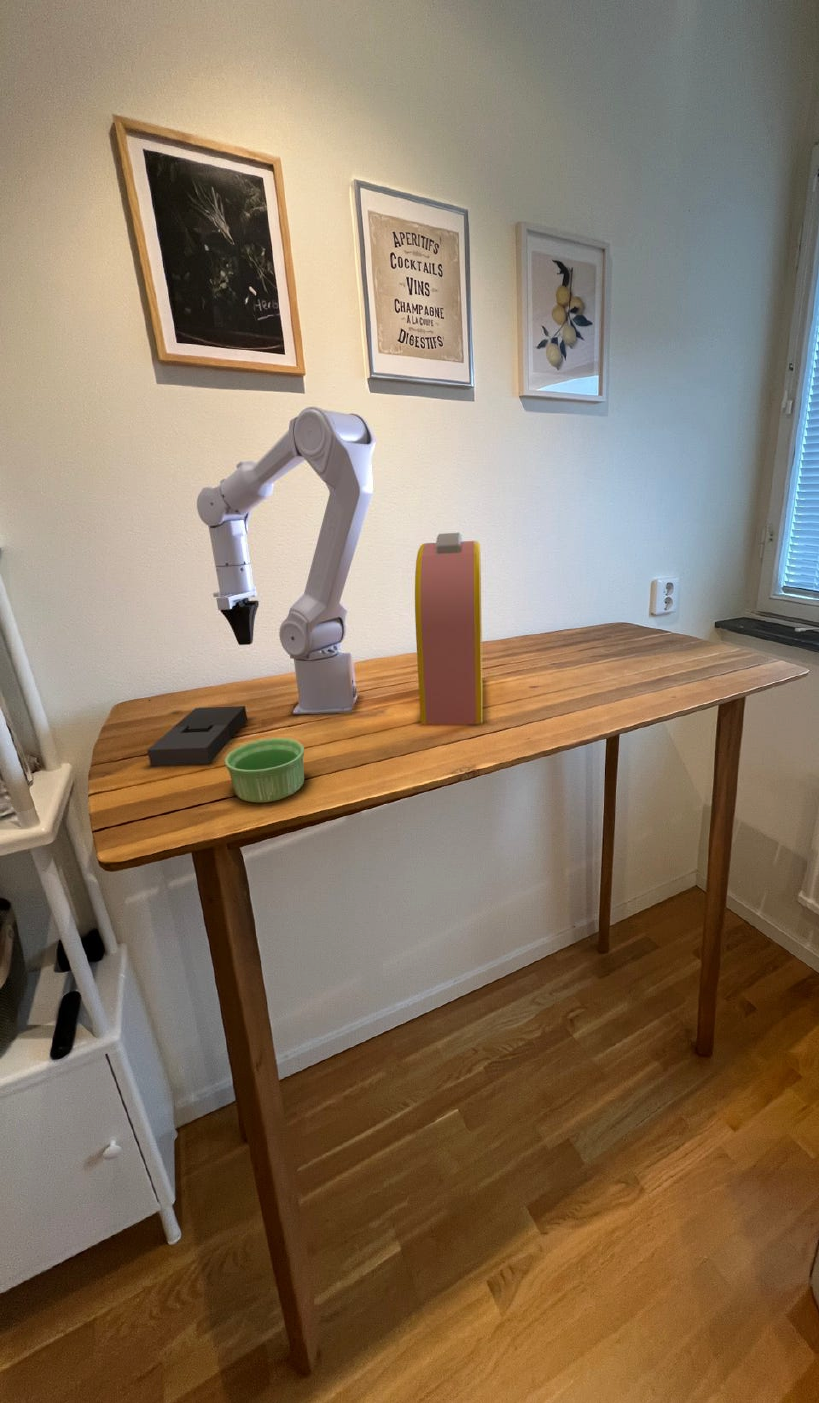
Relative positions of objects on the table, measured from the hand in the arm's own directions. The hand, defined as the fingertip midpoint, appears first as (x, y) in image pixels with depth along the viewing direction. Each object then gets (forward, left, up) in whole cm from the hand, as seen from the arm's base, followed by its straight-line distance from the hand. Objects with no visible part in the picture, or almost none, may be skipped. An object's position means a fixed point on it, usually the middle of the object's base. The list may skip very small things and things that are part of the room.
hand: (245, 643), depth 96 cm
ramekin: (-13, +36, -10) cm, 39 cm away
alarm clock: (-36, +8, -10) cm, 38 cm away
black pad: (+1, +17, -9) cm, 19 cm away
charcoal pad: (+1, +25, -9) cm, 27 cm away
